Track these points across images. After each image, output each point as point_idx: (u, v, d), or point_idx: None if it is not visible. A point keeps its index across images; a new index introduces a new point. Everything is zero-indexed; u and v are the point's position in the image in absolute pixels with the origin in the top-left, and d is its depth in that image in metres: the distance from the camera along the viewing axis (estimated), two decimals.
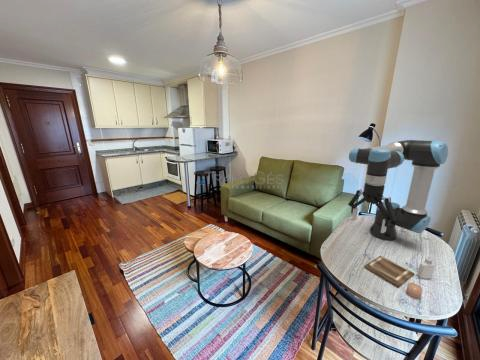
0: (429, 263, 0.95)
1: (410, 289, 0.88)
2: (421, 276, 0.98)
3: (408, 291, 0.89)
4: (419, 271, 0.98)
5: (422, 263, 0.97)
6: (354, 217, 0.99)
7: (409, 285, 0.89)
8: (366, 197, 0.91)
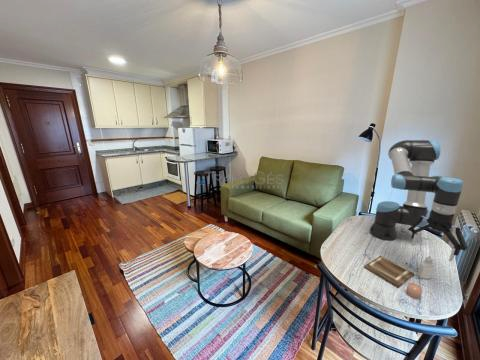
0: (429, 263, 0.95)
1: (410, 289, 0.88)
2: (421, 276, 0.98)
3: (408, 291, 0.89)
4: (419, 271, 0.98)
5: (422, 263, 0.97)
6: (415, 242, 0.99)
7: (409, 285, 0.89)
8: (432, 224, 0.91)
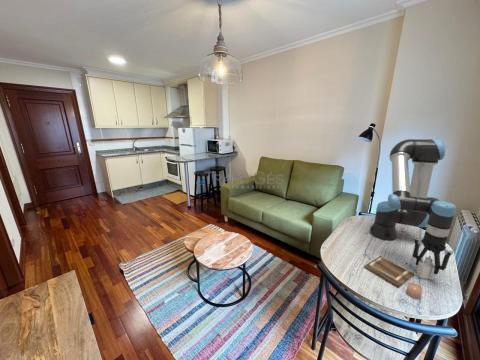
0: (429, 263, 0.95)
1: (410, 289, 0.88)
2: (421, 276, 0.98)
3: (408, 291, 0.89)
4: (419, 271, 0.98)
5: (422, 263, 0.97)
6: None
7: (409, 285, 0.89)
8: (427, 246, 0.94)
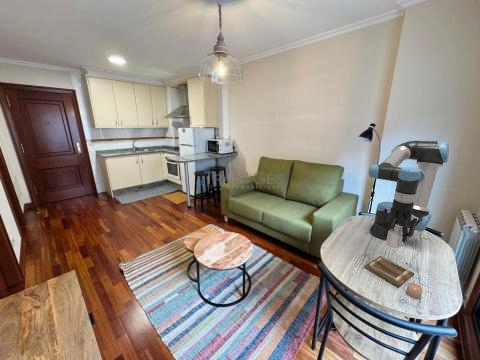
0: (398, 232, 0.95)
1: (410, 289, 0.88)
2: (390, 245, 0.97)
3: (408, 291, 0.89)
4: (388, 240, 0.98)
5: (391, 232, 0.97)
6: None
7: (409, 285, 0.89)
8: (395, 213, 0.94)
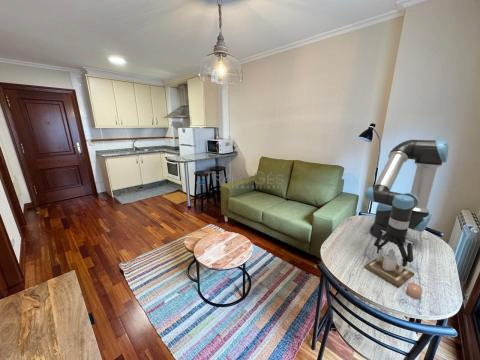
0: (392, 256, 0.99)
1: (410, 289, 0.88)
2: (385, 268, 1.01)
3: (408, 291, 0.89)
4: (383, 264, 1.02)
5: (386, 256, 1.01)
6: (380, 257, 1.05)
7: (409, 285, 0.89)
8: (389, 238, 0.98)
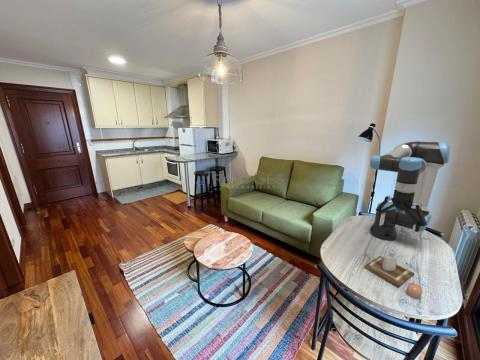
0: (392, 256, 0.99)
1: (410, 289, 0.88)
2: (385, 269, 1.01)
3: (408, 291, 0.89)
4: (383, 264, 1.02)
5: (386, 256, 1.01)
6: (382, 222, 1.03)
7: (409, 285, 0.89)
8: (396, 203, 0.94)
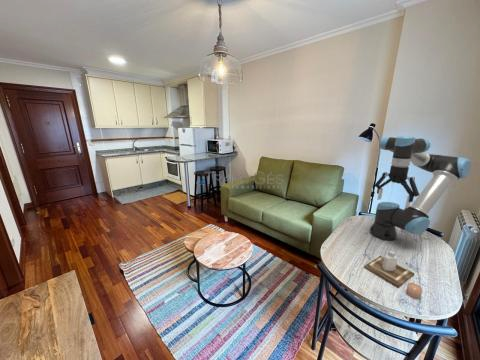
0: (392, 256, 0.99)
1: (410, 289, 0.88)
2: (385, 269, 1.01)
3: (408, 291, 0.89)
4: (383, 264, 1.02)
5: (386, 256, 1.01)
6: (380, 196, 1.14)
7: (409, 285, 0.89)
8: (392, 178, 1.06)
